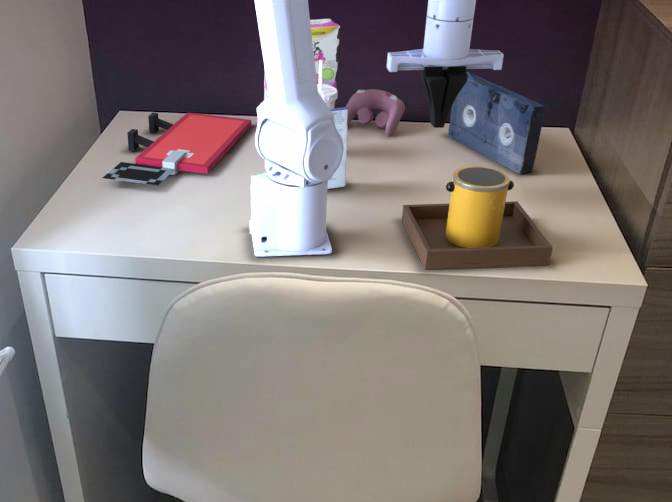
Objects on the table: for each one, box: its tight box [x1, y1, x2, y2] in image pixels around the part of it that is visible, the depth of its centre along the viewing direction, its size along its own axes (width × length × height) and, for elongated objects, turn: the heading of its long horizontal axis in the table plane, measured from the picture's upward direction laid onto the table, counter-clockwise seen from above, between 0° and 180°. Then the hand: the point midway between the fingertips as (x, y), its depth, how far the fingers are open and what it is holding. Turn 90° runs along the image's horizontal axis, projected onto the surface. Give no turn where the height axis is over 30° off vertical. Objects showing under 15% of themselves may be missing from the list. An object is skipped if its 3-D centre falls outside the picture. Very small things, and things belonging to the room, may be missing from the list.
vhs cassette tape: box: [447, 71, 547, 175], centre depth 127 cm, size 18×3×10 cm, turn 25°
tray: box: [401, 200, 554, 270], centre depth 104 cm, size 15×13×2 cm
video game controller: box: [345, 88, 406, 137], centre depth 138 cm, size 10×5×7 cm, turn 58°
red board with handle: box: [102, 112, 252, 187], centre depth 128 cm, size 30×3×15 cm
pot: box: [445, 165, 515, 248], centre depth 102 cm, size 8×10×10 cm
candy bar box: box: [263, 18, 341, 109], centre depth 134 cm, size 11×5×16 cm, turn 107°
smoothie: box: [317, 60, 339, 109], centre depth 125 cm, size 6×6×14 cm
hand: (437, 125), depth 111 cm, fingers closed
